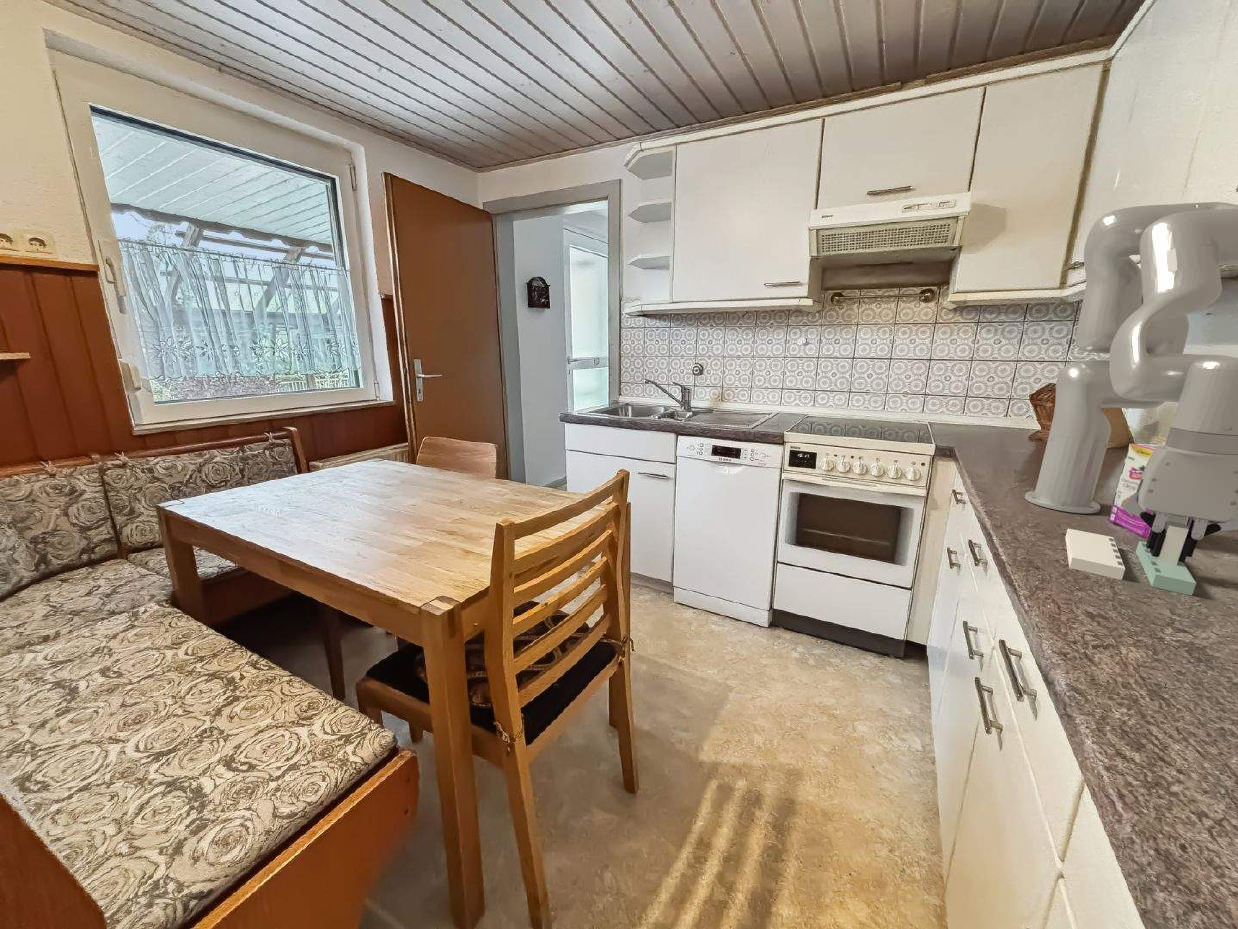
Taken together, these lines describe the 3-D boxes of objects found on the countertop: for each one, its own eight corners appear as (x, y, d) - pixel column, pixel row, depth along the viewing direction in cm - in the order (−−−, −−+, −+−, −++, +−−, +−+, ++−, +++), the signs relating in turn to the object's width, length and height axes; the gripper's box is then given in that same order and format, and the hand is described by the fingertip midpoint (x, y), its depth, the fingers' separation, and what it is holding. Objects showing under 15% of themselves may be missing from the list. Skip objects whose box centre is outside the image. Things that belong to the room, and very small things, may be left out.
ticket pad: (1065, 538, 90) (1067, 528, 90) (1110, 547, 86) (1113, 536, 86) (1069, 568, 78) (1072, 556, 78) (1121, 580, 75) (1125, 568, 74)
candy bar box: (1104, 521, 99) (1127, 442, 95) (1133, 523, 98) (1157, 444, 94) (1150, 543, 89) (1178, 456, 84) (1183, 545, 88) (1213, 457, 83)
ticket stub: (1135, 551, 84) (1149, 508, 82) (1169, 558, 82) (1184, 514, 80) (1151, 586, 73) (1168, 537, 70) (1191, 595, 70) (1210, 544, 68)
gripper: (1281, 447, 70) (1237, 564, 74) (1125, 432, 79) (1095, 536, 84) (1302, 456, 64) (1253, 582, 69) (1131, 439, 74) (1098, 549, 79)
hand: (1166, 555), depth 77 cm, fingers closed on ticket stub, 2 cm apart
